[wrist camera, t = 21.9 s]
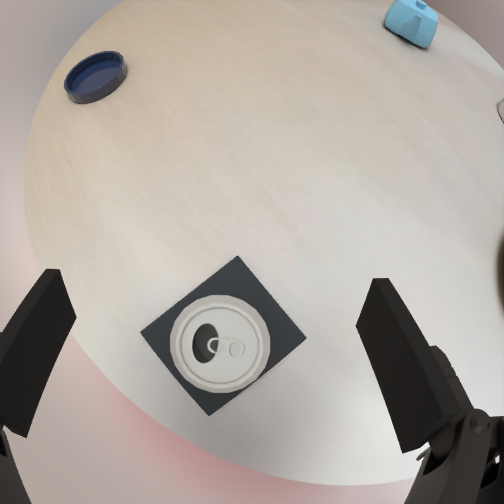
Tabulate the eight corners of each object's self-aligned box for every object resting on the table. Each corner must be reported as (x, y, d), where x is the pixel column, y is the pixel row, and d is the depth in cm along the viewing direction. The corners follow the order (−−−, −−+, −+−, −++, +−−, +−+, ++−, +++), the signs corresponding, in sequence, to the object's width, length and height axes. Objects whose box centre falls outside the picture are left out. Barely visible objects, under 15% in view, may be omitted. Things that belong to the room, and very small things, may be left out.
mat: (209, 414, 29) (208, 416, 29) (141, 332, 31) (139, 332, 31) (305, 337, 32) (306, 338, 32) (237, 256, 34) (237, 255, 33)
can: (194, 297, 32) (174, 283, 20) (262, 309, 32) (281, 301, 21) (183, 364, 30) (158, 387, 18) (251, 376, 30) (264, 405, 19)
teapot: (377, 36, 48) (394, -1, 37) (385, 12, 52) (400, -18, 41) (425, 63, 47) (447, 30, 36) (426, 35, 52) (443, 7, 41)
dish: (79, 114, 37) (74, 104, 35) (62, 85, 39) (57, 76, 36) (136, 77, 40) (133, 67, 37) (113, 53, 41) (109, 43, 39)
